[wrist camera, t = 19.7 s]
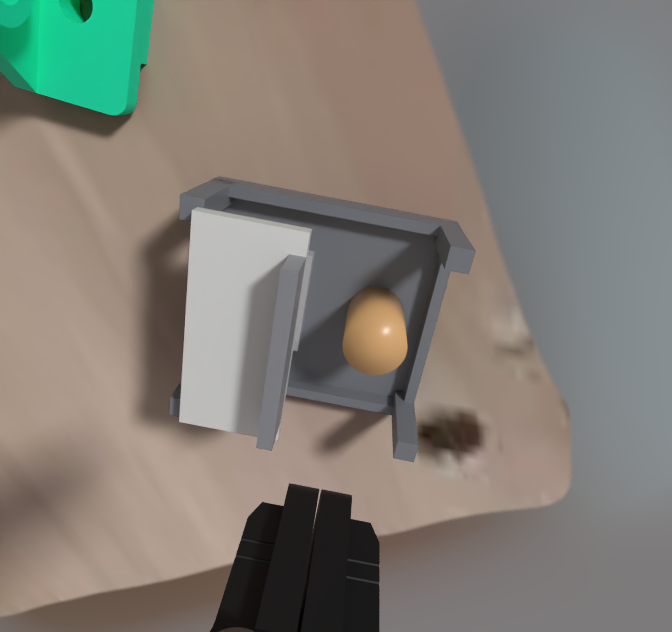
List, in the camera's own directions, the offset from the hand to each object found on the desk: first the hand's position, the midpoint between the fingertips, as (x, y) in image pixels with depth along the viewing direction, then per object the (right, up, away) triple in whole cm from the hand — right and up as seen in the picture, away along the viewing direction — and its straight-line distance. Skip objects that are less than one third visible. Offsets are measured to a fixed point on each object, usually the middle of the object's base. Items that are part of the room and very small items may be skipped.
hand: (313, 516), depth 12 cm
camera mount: (-16, +25, +23) cm, 37 cm away
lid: (-6, +4, +21) cm, 23 cm away
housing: (-1, +6, +29) cm, 30 cm away
